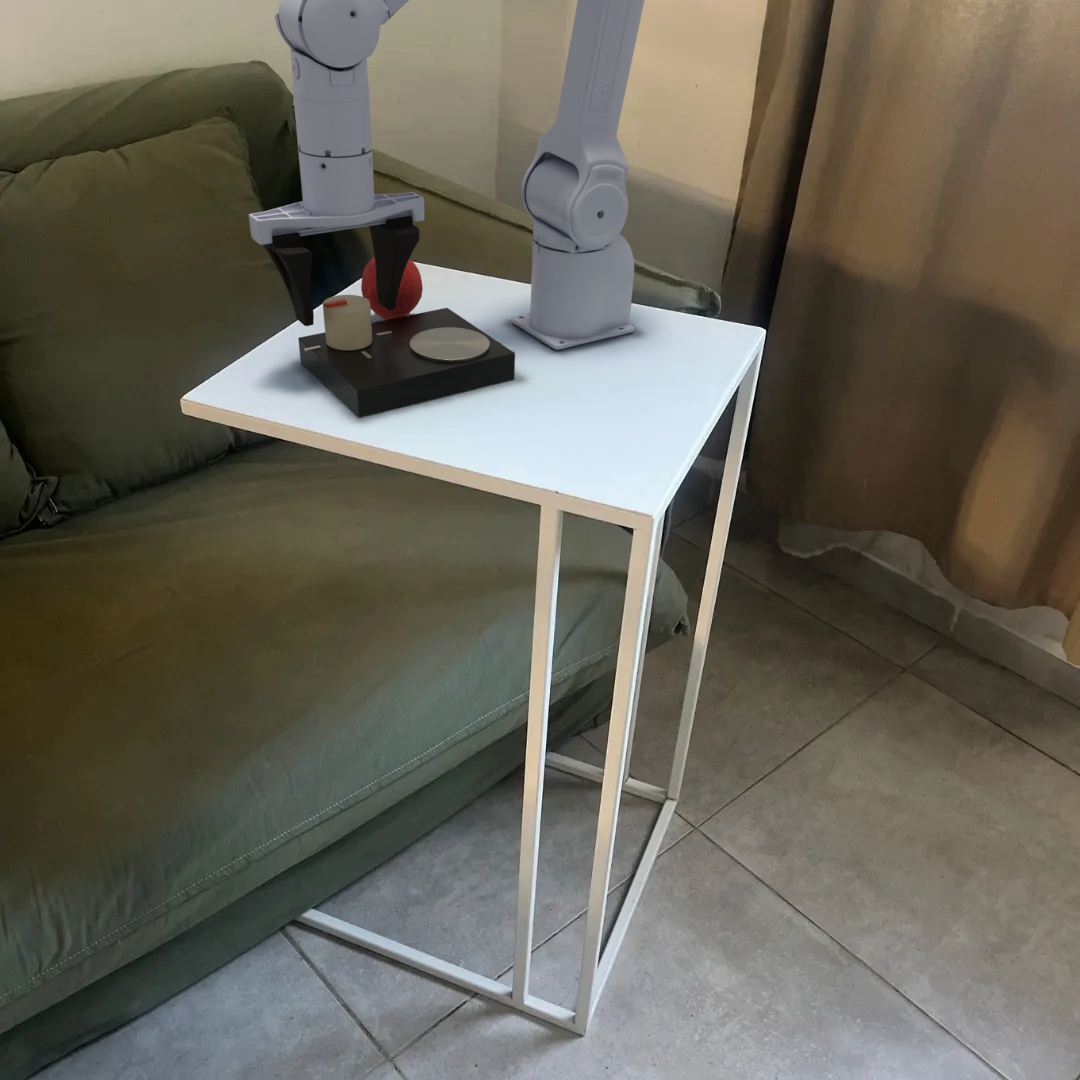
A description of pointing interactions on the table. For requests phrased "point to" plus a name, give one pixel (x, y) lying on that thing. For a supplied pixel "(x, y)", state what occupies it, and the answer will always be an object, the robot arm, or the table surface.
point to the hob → (401, 365)
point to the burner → (449, 345)
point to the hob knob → (347, 322)
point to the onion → (406, 296)
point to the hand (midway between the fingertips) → (346, 313)
